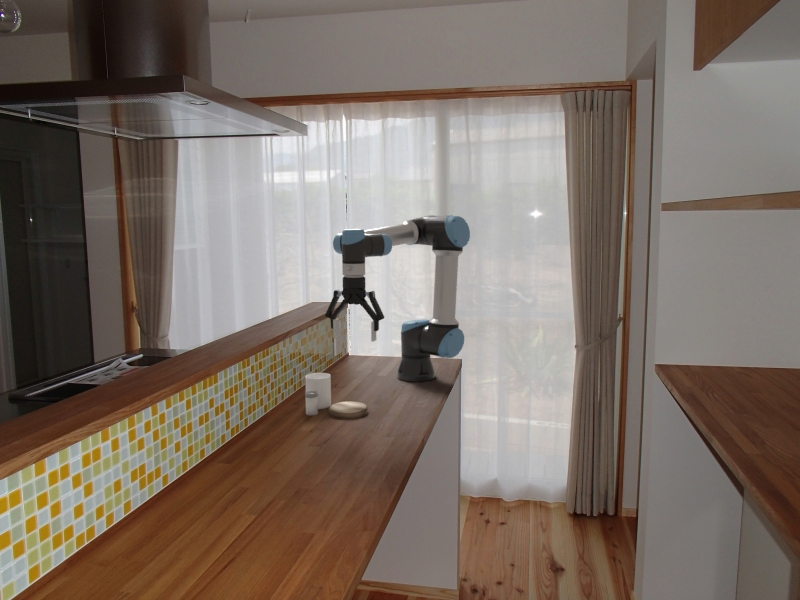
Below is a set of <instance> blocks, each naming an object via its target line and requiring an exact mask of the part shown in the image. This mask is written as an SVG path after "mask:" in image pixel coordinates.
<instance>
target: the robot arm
mask: <svg viewBox="0 0 800 600" xmlns="http://www.w3.org/2000/svg"><path fill="white" fill-rule="evenodd" d="M470 239H471V232H470V226H469V224H468V223H467V221H466V219H464V218H463V217H462V216H460V215H453V214H451V215H424V216H420V217H415V218H412V219H407V220H405V221H403V222H401V224H395V225H388V226H383V227H378V228H371V229H366V230H364V229H363V228H352V229H351V228H345V229H343V230H342V232H341V233H337V234H336V235H335V236H334V238H333V241H332V247H333V250H334V251H335V253H337V254H339V255H341V258H342V259H341V261H342V262H341V263H342V267H341V268H342V270H341V271H342V273H341V274H342V276H343V277H342V290H340V289H336V290H334V291H333V296H332V299H331V301H330V304H329V306H328V308H327V310H326V313H325V315H324V316H325V318H328V319H330V328H331V329H332V330H333V333H332V334H333V335H332V336H333V338H332V339H333V340H337V339H339V337H340V336H339V332H340V330H339V329H340V328H339V318H338V316H339V314H340V313H341V312H342V311H343V310H344V308H345V307H346V306H347V305H356V306H357V305H360V306H361V307H362V308H363V309H364V310H365V312H366V314H367V315H368V316H369V317H370V318H371V320H372V321H371V322H370V329H371V331H370V334H371V335H370V336H371V338H370V339H371V340H370V341H371V342H375V341H377V332H378V331H379V330H380V326H379V325H380V321H381V320H384V319H385V315H384V312H383V310H382V309H381V306H380V304H379V303H378V300H377V298H376V292H375V290H371V291H366V276H365V275H366V258H367V257H368V258H371V257H383V256H388V255H389V254H391V252H392V248H393V247H394V246H399V245H407V246H413V245H421V246H422V245H425V246H432V247H431V251H432V252H433V253H434V254H435V266H434V267H435V268H434V285H433V286H434V287H433V288H434V289H433V306H432V317H431V318H430V319H413V320H408V321H404V322H403V323H401V332H400V337H401V338H400V340H401V342H400V344H401V346H400V347H401V350H400V351H401V358H400V362H399V366H398V368H397V373H396V374H397V375H396V377H397V378H398V379H399V380H401V381H405V382H427V381H430V380H433V379H435V377H436V372H435V368H434V366H433V362H432V359H431V356H435V357H440V358H441V359H442V358H447V359H452V358H455V357H457V356H458V355H460V352H461V351H462V350H463V347H464V343H465V334H464V332H463V330H462V329H460V328H459V326H460V323H459V321H458V320H457V319H456V308H457V307H456V306H457V305H456V304H457V289H458V288H457V286H458V271H459V270H458V269H459V256H460V255H462V253H463V252H464V251H463V249H464V247H465V246H467V245H468V243H469V241H470ZM341 296H342V298H343V300H342V301H341V302H340V304H339V305H338V307H337V308H336V306H337V303H338V301H339V299H340V297H341ZM366 297H367V298H368V299H369V301H370V304H371V306H372V307H371V306H370V304H369V302H368V301H367V300H366ZM335 308H336V309H335Z"/></svg>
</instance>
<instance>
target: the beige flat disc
mask: <svg viewBox="0 0 800 600" xmlns="http://www.w3.org/2000/svg"><path fill="white" fill-rule="evenodd" d="M368 409H369V407H368V406H367V405H366V404H365V403H363V402H359V401H347V400H346V401H340V402H336V403H333V404H331V405H330V406H329V407H328V414H329V416H331V417H332V418H336V419H343V420H347V419H349V420H350V419H358V418H361V417H364V416H366V415H367V414H368V413H369V410H368Z"/></svg>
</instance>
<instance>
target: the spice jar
mask: <svg viewBox="0 0 800 600" xmlns="http://www.w3.org/2000/svg"><path fill="white" fill-rule="evenodd" d="M304 396H305V415H306V416H316V415H319V409H318V392H315V391H310V392H306V391H305V393H304Z"/></svg>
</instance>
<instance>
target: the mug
mask: <svg viewBox="0 0 800 600" xmlns="http://www.w3.org/2000/svg"><path fill="white" fill-rule="evenodd" d="M304 378H305V393H306V392H310V391H315V392H318V410H325V409H327V408H328V409H329V407H330V406H331V405H332V386H331V384H332V383H331V382H332V381H331V378H332V377H331V374H330V373H327V372H313V373H308V374H306V375H305V377H304Z"/></svg>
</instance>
